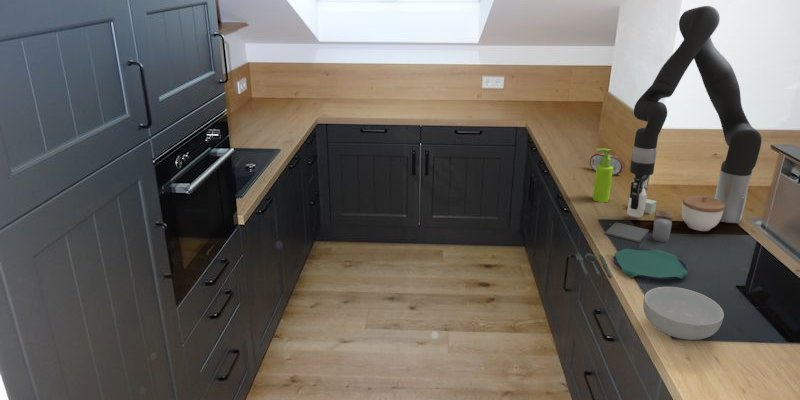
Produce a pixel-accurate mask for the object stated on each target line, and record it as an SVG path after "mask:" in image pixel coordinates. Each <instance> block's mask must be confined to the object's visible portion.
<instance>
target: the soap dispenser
mask: <svg viewBox="0 0 800 400" xmlns="http://www.w3.org/2000/svg"><path fill="white" fill-rule="evenodd" d="M595 150H596V151H597V153H599V152H603V153H604V156H603V157H602V158H601V165H597V168H596V171H595V177H594V183H593V184H594V185H593V190H592V191H593V193H592V200H593V201H595V202H598V203H607V202H609V200H610V194H611V187H612V180H613V175H612V173H613V167H612V166H610V162H611V158H610V157H609V154H610V153H611V152H612V149H611V148H607V147H605V148H604V147H602V148H596V149H595Z"/></svg>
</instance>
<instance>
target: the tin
mask: <svg viewBox="0 0 800 400" xmlns="http://www.w3.org/2000/svg"><path fill="white" fill-rule="evenodd" d="M604 153H605V152H602V151H600V152H596V153H594V154H592V156H591V157H590V158H589V166H590V168H591V169H592V170H593V171H595V172H596V168H597V165H601V158H602V157H603V156H604ZM609 157H610V158H611V162H610V166H612V167H613V173H612V176H617V175H618V176H619V174H621V173H623V172H624V170H625V168H626V164H625V161H624V160H623V158H622V157H620V156H618V155H614V154H610V153H609Z"/></svg>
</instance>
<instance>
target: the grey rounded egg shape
mask: <svg viewBox="0 0 800 400" xmlns="http://www.w3.org/2000/svg"><path fill="white" fill-rule="evenodd" d="M672 225H673V222H671V221H670V220H667V219H656V220H655V223H654V222H653V230H652V235H651V238H652V240H654V241H657V242H662V243H666V242H669V241H670V236H671V230H672Z"/></svg>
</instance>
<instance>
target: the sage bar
mask: <svg viewBox="0 0 800 400" xmlns="http://www.w3.org/2000/svg"><path fill="white" fill-rule="evenodd" d="M657 202H658V201H657V200H654V199H649V198H646V204H645V210H644V213H646V214H650V215H652V214H653V213H655V212H656V208H657V207H656V206H657Z"/></svg>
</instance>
